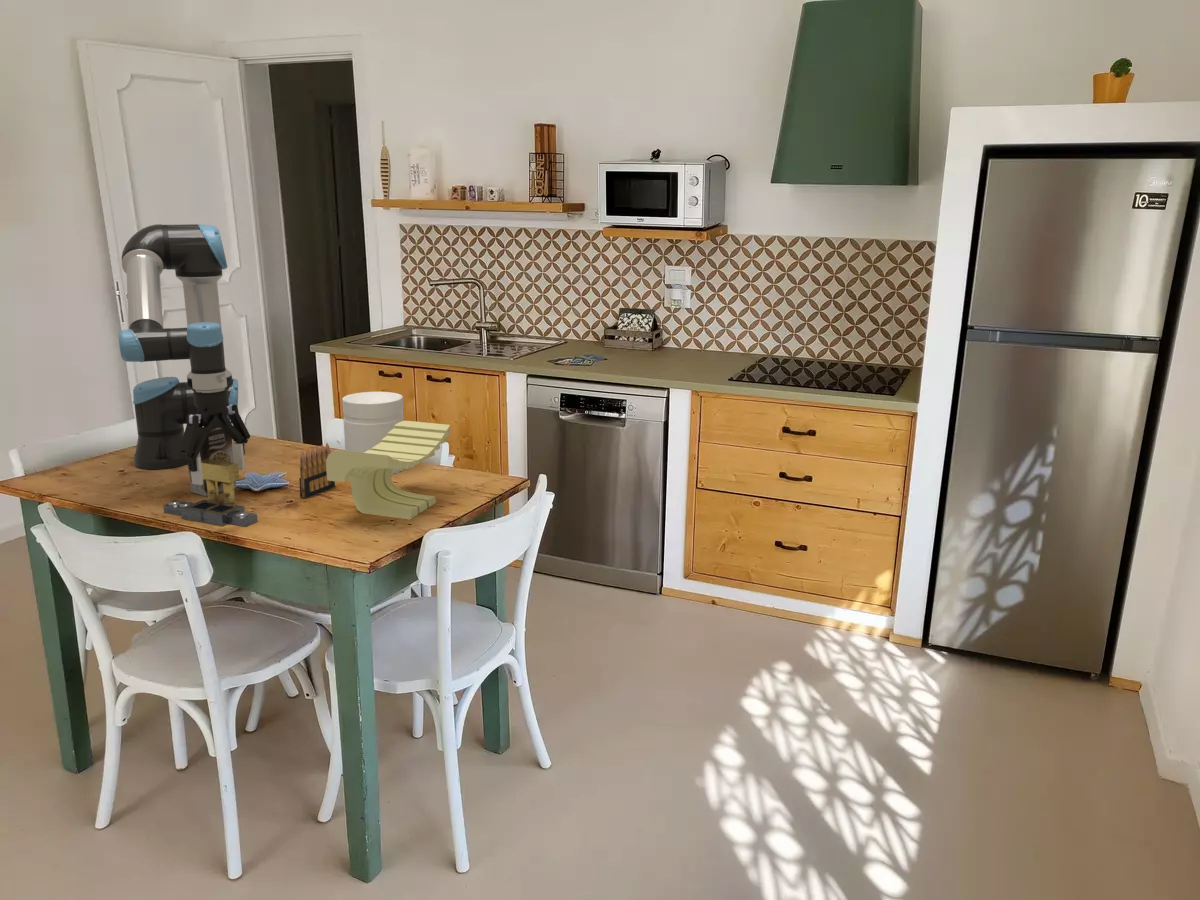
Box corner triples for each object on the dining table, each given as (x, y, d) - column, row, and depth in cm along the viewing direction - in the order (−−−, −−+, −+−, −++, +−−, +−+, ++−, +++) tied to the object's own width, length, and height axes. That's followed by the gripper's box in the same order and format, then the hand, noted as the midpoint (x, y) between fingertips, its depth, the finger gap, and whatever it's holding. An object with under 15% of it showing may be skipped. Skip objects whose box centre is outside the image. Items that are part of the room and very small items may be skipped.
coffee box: (206, 496, 224) (199, 434, 220) (190, 492, 228) (183, 430, 223) (237, 487, 232) (232, 426, 228) (222, 483, 235) (215, 423, 231)
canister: (398, 477, 243) (394, 404, 237) (339, 475, 243) (334, 403, 238) (411, 460, 258) (408, 392, 253) (355, 459, 258) (351, 391, 253)
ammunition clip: (329, 486, 234) (326, 441, 231) (335, 487, 234) (332, 442, 230) (300, 497, 225) (296, 451, 222) (305, 498, 224) (302, 452, 221)
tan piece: (202, 503, 219) (198, 462, 216) (212, 500, 222) (208, 459, 219) (232, 508, 216) (227, 466, 213) (241, 504, 219) (237, 463, 216)
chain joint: (159, 514, 212) (157, 504, 211) (182, 505, 218) (181, 495, 217) (240, 528, 203) (239, 518, 203) (262, 519, 210) (261, 508, 209)
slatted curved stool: (396, 485, 235) (393, 419, 231) (452, 492, 231) (449, 424, 226) (330, 523, 208) (324, 448, 203) (391, 531, 203) (387, 455, 198)
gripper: (181, 400, 199) (191, 492, 204) (260, 381, 222) (267, 465, 227) (155, 397, 202) (166, 488, 207) (236, 379, 224) (244, 461, 230)
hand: (219, 476), depth 217 cm, fingers open, 13 cm apart
